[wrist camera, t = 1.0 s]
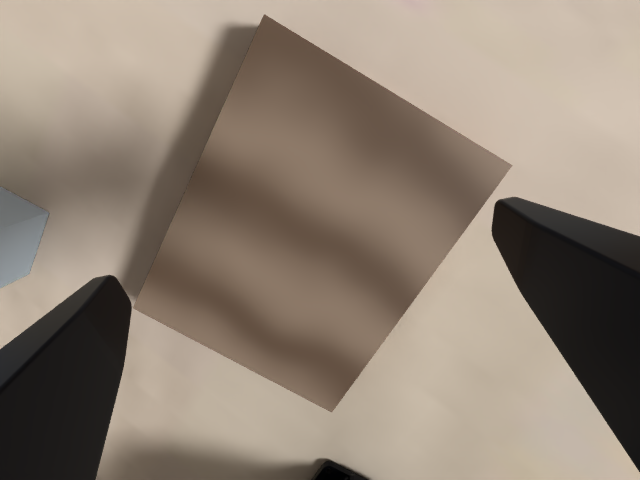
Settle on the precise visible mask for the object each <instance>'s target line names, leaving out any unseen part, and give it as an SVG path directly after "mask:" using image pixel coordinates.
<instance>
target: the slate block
mask: <svg viewBox="0 0 640 480" xmlns="http://www.w3.org/2000/svg"><path fill="white" fill-rule="evenodd" d="M48 215H49V212H47V211H45V210H44V209H42V208H40V207H38V206H36V205H34V204H32V203H31V202H29V201H27V200H25V199H23V198H21V197H19V196H18V195H16V194H14V193H12V192H10V191H8V190H6V189H4V188H3V187H1V186H0V288H2V287H4V286H6V285H8V284H10V283H12V282H14V281H16V280H18V279H20V278H22V277H24V276H26V275H28V274H29V273H30V270H31V267H32V264H33V261H34V258H35V255H36V252H37V249H38V246H39V243H40V240H41V237H42V234H43V231H44V228H45V224H46V221H47V218H48Z"/></svg>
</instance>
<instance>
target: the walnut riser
mask: <svg viewBox="0 0 640 480" xmlns="http://www.w3.org/2000/svg"><path fill="white" fill-rule="evenodd" d="M511 167H512V165H511V164H509V163H508V162H506V161H504V160H503V159H501V158H499V157H498V156H496V155H494V154H493V153H491V152H489V151H488V150H486V149H485V148H483V147H481V146H480V145H478V144H476V143H475V142H473V141H471V140H470V139H468V138H466V137H465V136H463V135H462V134H460V133H458V132H457V131H455V130H453V129H452V128H450V127H448V126H447V125H445V124H443V123H442V122H440V121H439V120H437V119H435V118H434V117H432V116H430V115H429V114H427V113H425V112H424V111H422V110H420V109H419V108H417V107H416V106H414V105H412V104H411V103H409V102H407V101H406V100H404V99H402V98H401V97H399V96H397V95H396V94H394V93H393V92H391V91H389V90H388V89H386V88H384V87H383V86H381V85H379V84H378V83H376V82H374V81H373V80H371V79H370V78H368V77H366V76H365V75H363V74H361V73H360V72H358V71H356V70H355V69H353V68H352V67H350V66H348V65H347V64H345V63H343V62H342V61H340V60H338V59H337V58H335V57H333V56H332V55H330V54H329V53H327V52H325V51H324V50H322V49H320V48H319V47H317V46H315V45H314V44H312V43H310V42H309V41H307V40H306V39H304V38H302V37H301V36H299V35H297V34H296V33H294V32H292V31H291V30H289V29H287V28H286V27H284V26H283V25H281V24H279V23H278V22H276V21H274V20H273V19H271V18H269V17H268V16H266V15H264V16H263V18H262V20H261V22H260V25H259V27H258V29H257V31H256V34H255V36H254V38H253V40H252V43H251V45H250V47H249V49H248V52H247V54H246V56H245V58H244V60H243V63H242V65H241V67H240V69H239V72H238V74H237V76H236V78H235V81H234V83H233V85H232V87H231V90H230V92H229V94H228V96H227V99H226V101H225V103H224V105H223V108H222V110H221V112H220V114H219V116H218V119H217V121H216V123H215V125H214V128H213V130H212V132H211V134H210V137H209V139H208V141H207V143H206V146H205V148H204V150H203V152H202V155H201V157H200V159H199V161H198V163H197V166H196V168H195V170H194V172H193V175H192V177H191V179H190V181H189V184H188V186H187V188H186V190H185V193H184V195H183V197H182V199H181V202H180V204H179V206H178V208H177V210H176V213H175V215H174V217H173V219H172V222H171V224H170V226H169V228H168V231H167V233H166V235H165V237H164V240H163V242H162V244H161V246H160V249H159V251H158V253H157V255H156V257H155V260H154V262H153V264H152V266H151V269H150V271H149V273H148V275H147V278H146V280H145V282H144V284H143V287H142V289H141V291H140V293H139V296H138V298H137V300H136V302H135V305H134V307H133V308H134V309H136V310H137V311H139V312H141V313H143V314H145V315H147V316H149V317H151V318H153V319H155V320H157V321H158V322H160V323H162V324H164V325H166V326H168V327H170V328H172V329H174V330H176V331H178V332H179V333H181V334H183V335H185V336H187V337H189V338H191V339H193V340H195V341H197V342H198V343H200V344H202V345H204V346H206V347H208V348H210V349H212V350H214V351H216V352H218V353H219V354H221V355H223V356H225V357H227V358H229V359H231V360H233V361H235V362H237V363H239V364H240V365H242V366H244V367H246V368H248V369H250V370H252V371H254V372H256V373H258V374H259V375H261V376H263V377H265V378H267V379H269V380H271V381H273V382H275V383H277V384H279V385H280V386H282V387H284V388H286V389H288V390H290V391H292V392H294V393H296V394H298V395H300V396H301V397H303V398H305V399H307V400H309V401H311V402H313V403H315V404H317V405H319V406H320V407H322V408H324V409H326V410H328V411H330V412H332V411H333V410H334V409H335V407H336V406H337V405H338V403H339V402H340V400H341V399H342V398H343V396H344V395H345V394H346V392H347V391H348V390H349V388H350V387H351V385H352V384H353V383H354V381H355V380H356V379H357V377H358V376H359V374H360V373H361V372H362V370H363V369H364V368H365V366H366V365H367V364H368V362H369V361H370V359H371V358H372V357H373V355H374V354H375V353H376V351H377V350H378V349H379V347H380V346H381V344H382V343H383V342H384V340H385V339H386V338H387V336H388V335H389V333H390V332H391V331H392V329H393V328H394V327H395V325H396V324H397V323H398V321H399V320H400V318H401V317H402V316H403V314H404V313H405V312H406V310H407V309H408V308H409V306H410V305H411V303H412V302H413V301H414V299H415V298H416V297H417V295H418V294H419V292H420V291H421V290H422V288H423V287H424V286H425V284H426V283H427V282H428V280H429V279H430V277H431V276H432V275H433V273H434V272H435V271H436V269H437V268H438V266H439V265H440V264H441V262H442V261H443V260H444V258H445V257H446V256H447V254H448V253H449V251H450V250H451V249H452V247H453V246H454V245H455V243H456V242H457V241H458V239H459V238H460V236H461V235H462V234H463V232H464V231H465V230H466V228H467V227H468V225H469V224H470V223H471V221H472V220H473V219H474V217H475V216H476V215H477V213H478V212H479V210H480V209H481V208H482V206H483V205H484V204H485V202H486V201H487V199H488V198H489V197H490V195H491V194H492V193H493V191H494V190H495V189H496V187H497V186H498V184H499V183H500V182H501V180H502V179H503V178H504V176H505V175H506V174H507V172H508V171H509V169H510V168H511Z"/></svg>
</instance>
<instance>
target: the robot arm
mask: <svg viewBox="0 0 640 480" xmlns="http://www.w3.org/2000/svg"><path fill="white" fill-rule="evenodd" d="M492 236H493V239H494V241H495V243H496V245H497V247H498V249H499V251H500V253H501V255H502V257H503V259H504V261H505V263H506V265H507V267H508V269H509V271H510V273H511V275H512V277H513V279H514V281H515V283H516V285H517V287H518V289H519V290H520V292H521V294H522V295H523V297H524V298H525V300H526V301H527V303H528V305H529V306H530V308H531V309H532V311H533V312H534V314H535V315H536V317H537V318H538V320H539V321H540V323H541V324H542V326H543V327H544V329H545V330H546V332H547V333H548V335H549V336H550V338H551V339H552V341H553V342H554V344H555V345H556V347H557V348H558V350H559V351H560V353H561V354H562V356H563V357H564V359H565V360H566V362H567V363H568V365H569V366H570V368H571V369H572V371H573V372H574V374H575V375H576V377H577V378H578V380H579V381H580V383H581V384H582V386H583V387H584V389H585V390H586V392H587V393H588V395H589V397H590V398H591V400H592V401H593V403H594V404H595V406H596V407H597V409H598V410H599V412H600V413H601V415H602V416H603V418H604V419H605V421H606V422H607V424H608V425H609V427H610V428H611V430H612V431H613V433H614V434H615V436H616V437H617V439H618V440H619V442H620V443H621V445H622V446H623V448H624V449H625V451H626V452H627V454H628V455H629V457H630V458H631V460H632V461H633V463H634V464H635V466H636V467H637V469H638V470H639V472H640V236H637V235H634V234H631V233H627V232H624V231H621V230H618V229H615V228H612V227H609V226H606V225H602V224H599V223H596V222H593V221H590V220H587V219H584V218H581V217H577V216H574V215H571V214H568V213H565V212H562V211H559V210H556V209H552V208H549V207H546V206H543V205H540V204H537V203H534V202H530V201H527V200H524V199H521V198H518V197H510V198H505V199H500V200H498V201H497V202H496V203H495V207H494V214H493V222H492ZM131 310H132V307H131V302H130V299H129V297H128V296H127V294H126V293H125V291H124V289H123V288H122V286H121V285H120V283H119V281H118V280H117V278H116V277H114V276H112V275H107V276H102V277H96V278H94V279H92V280H91V281H89V282H88V283H87V284H85V285H84V286H83V287H81V288H80V289H79V290H77V291H76V292H75V293H73V294H72V295H71V296H70V297H68V298H67V299H66V300H64V301H63V302H62V303H60V304H59V305H58V306H56V307H55V308H54V309H53V310H51V311H50V312H49V313H47V314H46V315H45V316H43V317H42V318H41V319H39V320H38V321H37V322H35V323H34V324H33V325H32V326H30V327H29V328H28V329H26V330H25V331H24V332H22V333H21V334H20V335H18V336H17V337H16V338H14V339H13V340H12V341H11V342H9V343H8V344H7V345H5V346H4V347H3V348H1V349H0V480H95V479H96V476H97V472H98V468H99V464H100V460H101V456H102V452H103V448H104V444H105V440H106V436H107V432H108V428H109V424H110V420H111V416H112V412H113V408H114V404H115V400H116V396H117V392H118V388H119V384H120V380H121V376H122V372H123V367H124V362H125V356H126V348H127V340H128V333H129V325H130V318H131ZM312 480H366V479H365V478H363V477H361V476H359V475H357V474H355V473H353V472H351V471H349V470H347V469H345V468H343V467H341V466H339V465H337V464H335V463H333V462H331V461H328V462H325V463H324V464H323V465H322V467H321V468H320V469H319V470H318V472H317V473H316V474H315V476H314V477H313V478H312Z"/></svg>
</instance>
